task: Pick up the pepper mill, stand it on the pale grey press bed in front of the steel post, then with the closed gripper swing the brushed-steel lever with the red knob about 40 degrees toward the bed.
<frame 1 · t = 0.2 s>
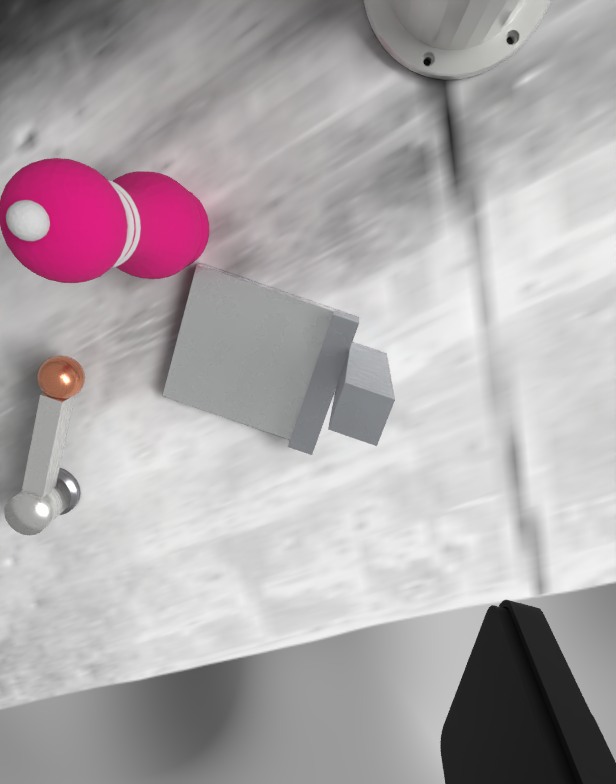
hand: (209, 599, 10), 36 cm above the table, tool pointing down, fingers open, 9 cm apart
press bed: (248, 351, 46), on the table
lever: (50, 443, 46), point 3 cm above the table, hinge at 0.0°
pepper mill: (171, 227, 44), on the table
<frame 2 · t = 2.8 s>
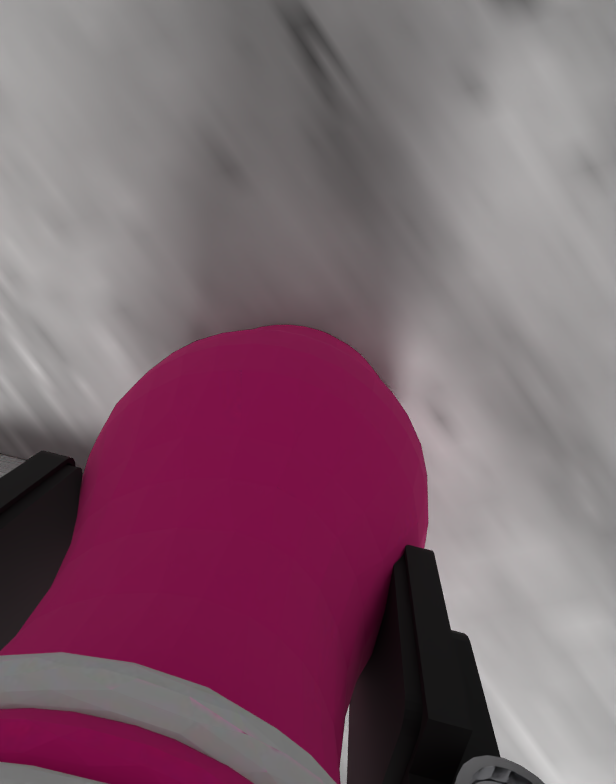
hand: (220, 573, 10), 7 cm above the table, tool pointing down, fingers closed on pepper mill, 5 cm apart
press bed: (24, 609, 19), on the table
pepper mill: (288, 426, 17), on the table, touching gripper
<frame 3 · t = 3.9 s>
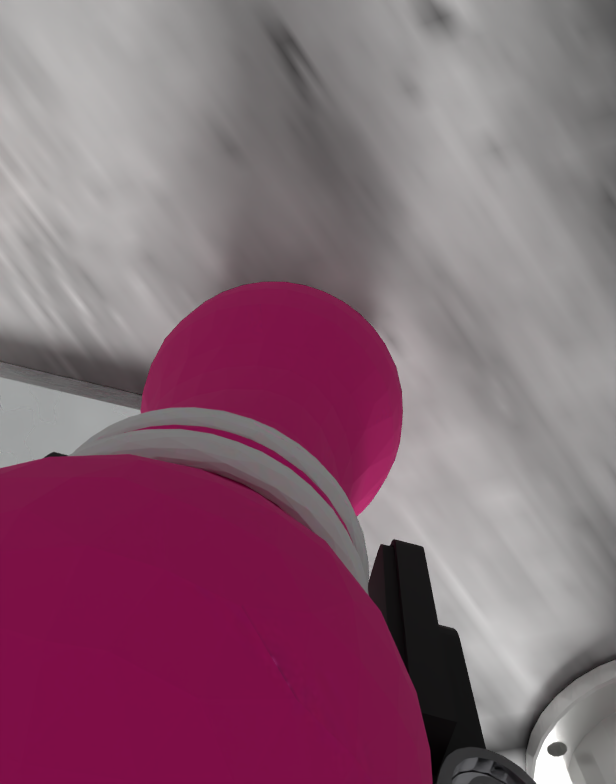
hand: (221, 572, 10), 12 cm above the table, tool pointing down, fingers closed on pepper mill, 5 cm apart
press bed: (69, 500, 24), on the table
pepper mill: (293, 373, 20), point 1 cm above the table, touching gripper
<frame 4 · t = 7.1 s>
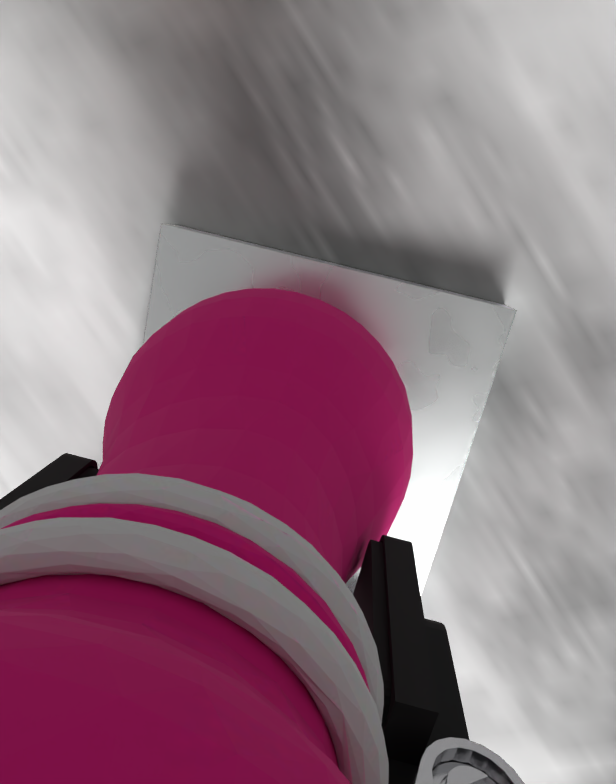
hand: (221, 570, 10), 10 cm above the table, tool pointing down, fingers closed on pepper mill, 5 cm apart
press bed: (301, 419, 20), on the table
pepper mill: (286, 389, 18), point 1 cm above the table, touching gripper, press bed
when the fingers open (10 cm above the table, at t = 7.1 s): pepper mill stays where it is, resting on press bed.
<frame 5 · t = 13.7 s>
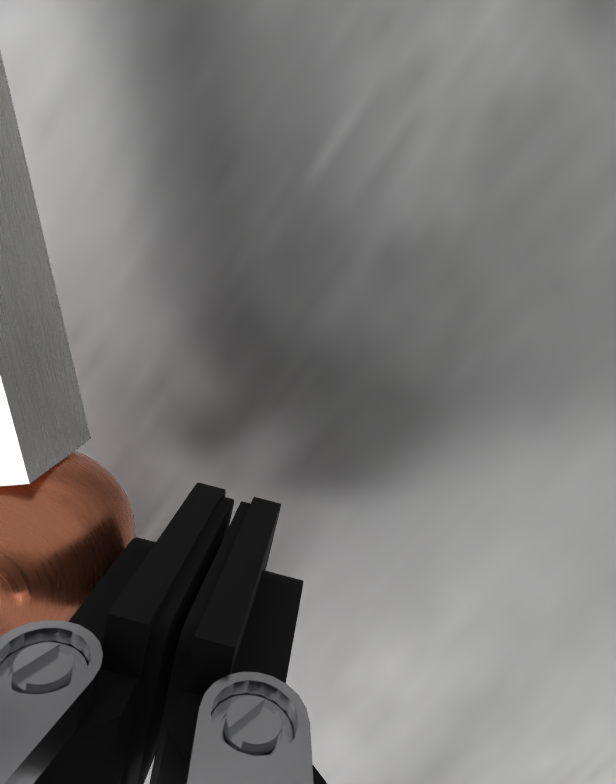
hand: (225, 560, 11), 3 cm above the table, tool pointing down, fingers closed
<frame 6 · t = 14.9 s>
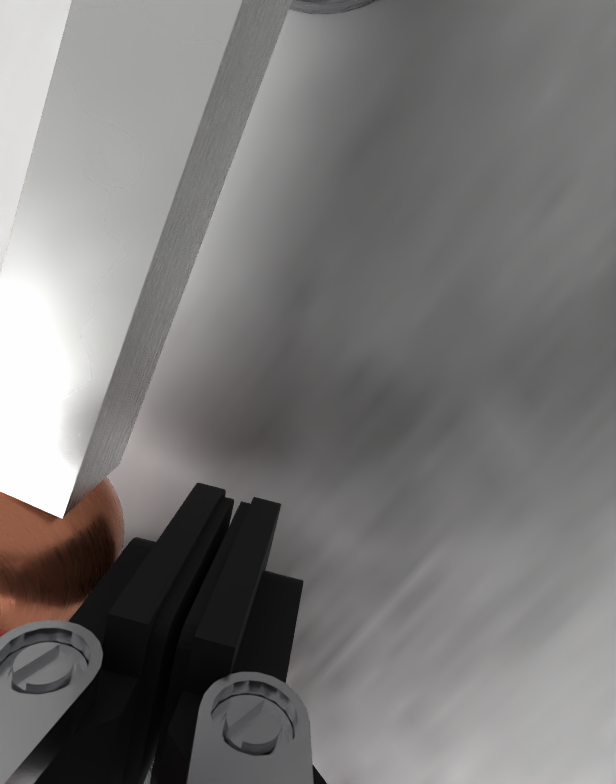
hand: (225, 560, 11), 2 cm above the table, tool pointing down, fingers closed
lever: (142, 197, 8), point 3 cm above the table, hinge at 32.2°, touching gripper
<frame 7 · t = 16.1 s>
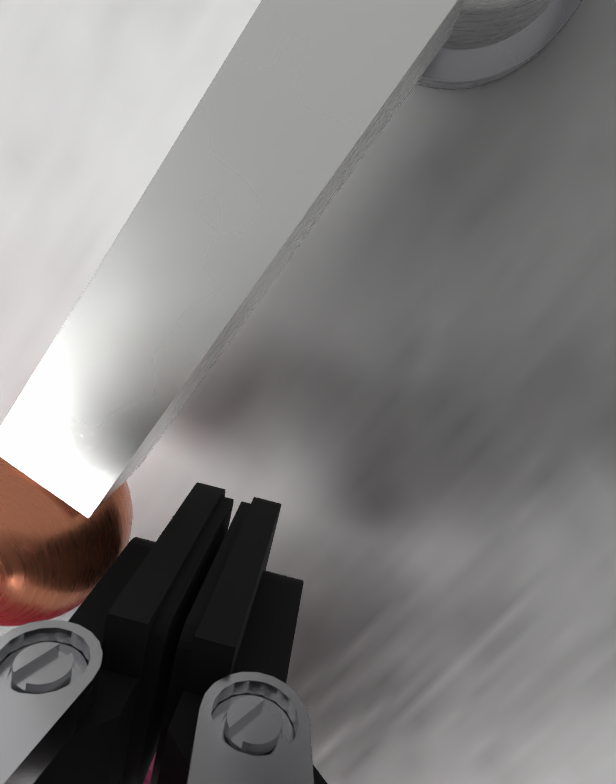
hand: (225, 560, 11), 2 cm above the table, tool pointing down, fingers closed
press bed: (29, 766, 16), on the table
lever: (232, 230, 9), point 3 cm above the table, hinge at 44.0°, touching gripper
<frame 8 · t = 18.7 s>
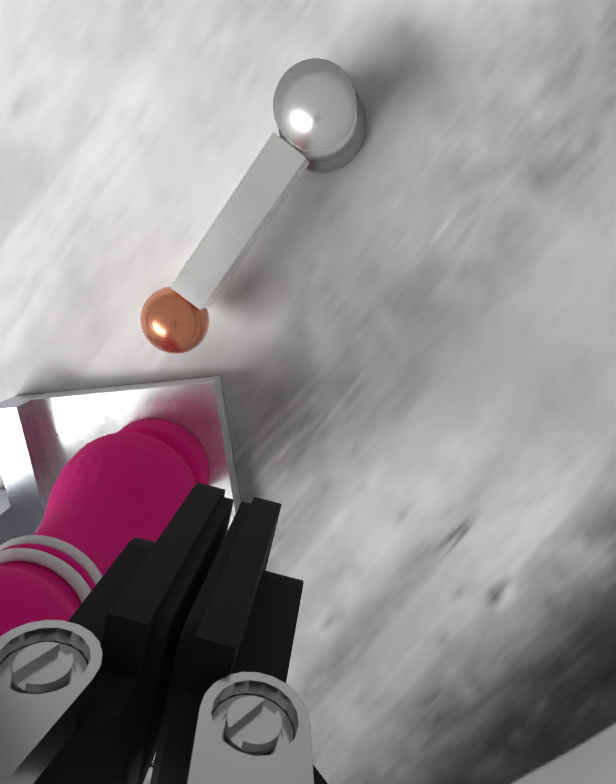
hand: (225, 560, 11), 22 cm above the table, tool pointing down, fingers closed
press bed: (148, 469, 35), on the table
lever: (244, 221, 28), point 3 cm above the table, hinge at 44.0°
pepper mill: (159, 466, 33), point 1 cm above the table, touching press bed
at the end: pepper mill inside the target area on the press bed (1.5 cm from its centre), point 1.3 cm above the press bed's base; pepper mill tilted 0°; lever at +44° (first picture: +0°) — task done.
